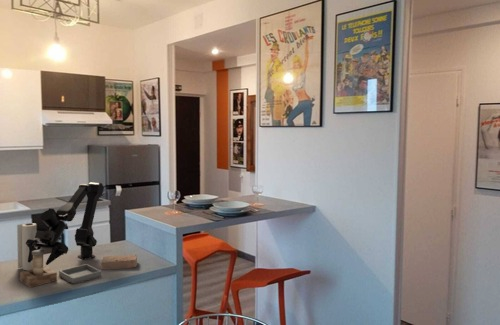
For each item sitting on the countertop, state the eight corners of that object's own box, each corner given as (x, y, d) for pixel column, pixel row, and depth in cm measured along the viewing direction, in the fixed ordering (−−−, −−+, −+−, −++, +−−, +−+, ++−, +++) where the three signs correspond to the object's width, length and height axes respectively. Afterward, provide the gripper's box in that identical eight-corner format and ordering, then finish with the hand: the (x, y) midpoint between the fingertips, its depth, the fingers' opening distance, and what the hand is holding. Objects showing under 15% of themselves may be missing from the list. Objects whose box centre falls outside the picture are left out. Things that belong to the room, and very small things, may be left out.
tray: (59, 276, 183) (59, 270, 183) (86, 269, 193) (86, 263, 193) (73, 284, 174) (73, 278, 174) (101, 276, 184) (101, 271, 184)
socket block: (19, 280, 177) (19, 272, 176) (45, 273, 185) (45, 266, 185) (30, 287, 170) (30, 279, 169) (56, 280, 178) (56, 272, 178)
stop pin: (30, 280, 177) (29, 251, 176) (41, 277, 181) (41, 249, 180) (34, 283, 174) (34, 253, 173) (46, 280, 178) (46, 251, 176)
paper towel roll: (39, 267, 192) (39, 223, 191) (28, 271, 187) (27, 226, 185) (29, 265, 195) (29, 221, 194) (17, 268, 190) (17, 224, 188)
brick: (100, 270, 193) (100, 260, 193) (102, 264, 201) (102, 255, 201) (136, 268, 197) (136, 259, 196) (137, 263, 205) (137, 253, 205)
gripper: (28, 221, 182) (8, 252, 172) (64, 224, 178) (46, 256, 168) (41, 234, 190) (23, 264, 181) (75, 237, 186) (59, 269, 176)
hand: (37, 263), depth 176 cm, fingers open, 9 cm apart
